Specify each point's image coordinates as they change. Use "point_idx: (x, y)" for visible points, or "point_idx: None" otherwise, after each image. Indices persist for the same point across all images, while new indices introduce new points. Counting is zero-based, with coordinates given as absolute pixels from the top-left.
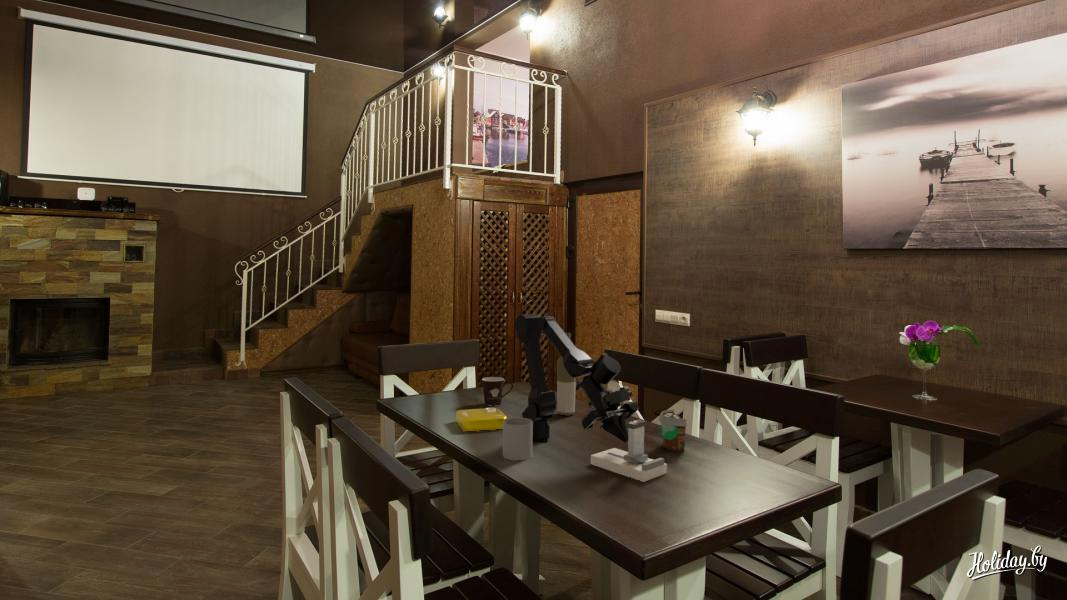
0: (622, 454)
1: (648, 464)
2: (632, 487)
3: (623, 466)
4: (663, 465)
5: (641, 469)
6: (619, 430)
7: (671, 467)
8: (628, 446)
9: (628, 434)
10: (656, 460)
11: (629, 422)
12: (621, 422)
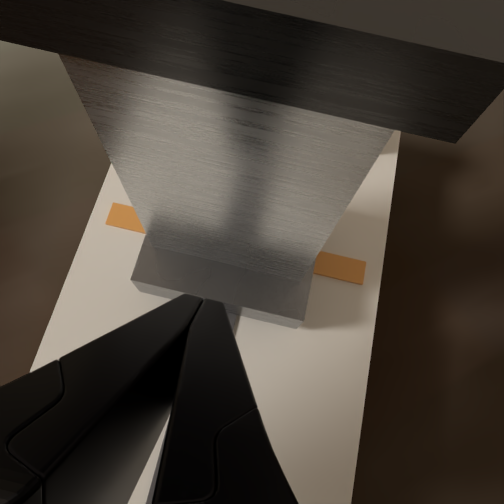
0: None
1: None
2: (491, 181)
3: (377, 293)
4: None
5: None
6: (253, 420)
7: (38, 124)
8: (321, 247)
9: (359, 185)
10: None
11: (418, 18)
12: (33, 483)
